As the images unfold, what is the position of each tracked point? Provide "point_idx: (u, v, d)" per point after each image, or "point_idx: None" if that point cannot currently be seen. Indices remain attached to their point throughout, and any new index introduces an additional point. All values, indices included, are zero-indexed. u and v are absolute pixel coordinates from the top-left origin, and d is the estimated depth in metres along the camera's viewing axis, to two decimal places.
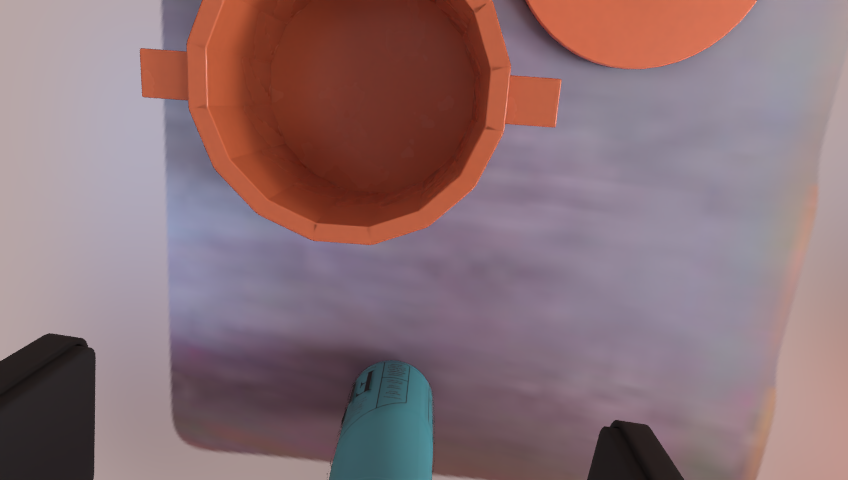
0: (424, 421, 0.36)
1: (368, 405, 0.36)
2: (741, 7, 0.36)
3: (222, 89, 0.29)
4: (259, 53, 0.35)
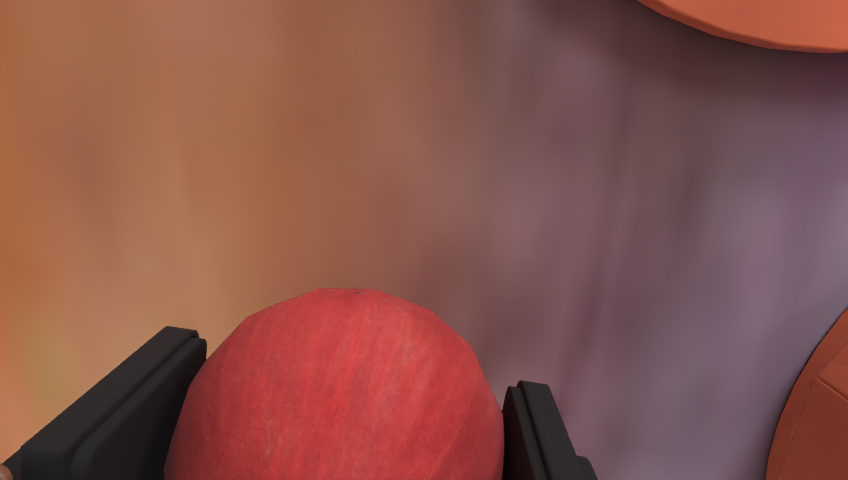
0: None
1: None
2: None
3: None
4: None
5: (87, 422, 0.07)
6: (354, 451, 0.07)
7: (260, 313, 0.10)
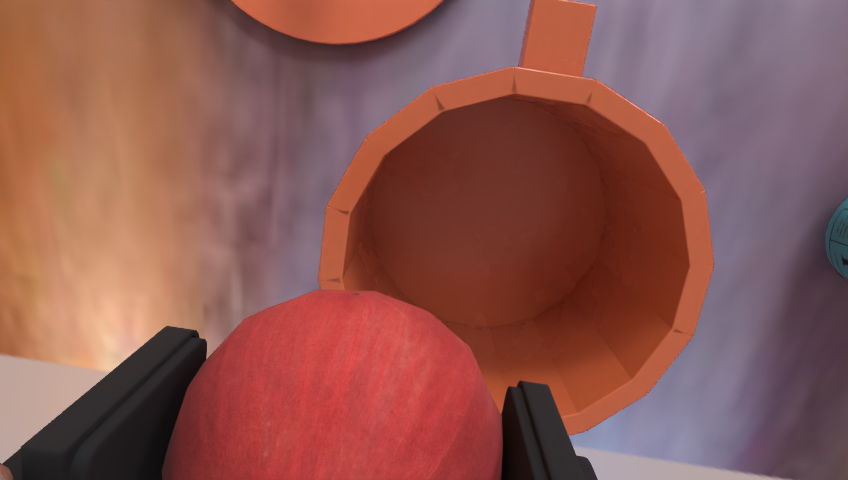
0: None
1: None
2: None
3: None
4: None
5: (87, 422, 0.07)
6: (352, 454, 0.07)
7: (258, 315, 0.10)
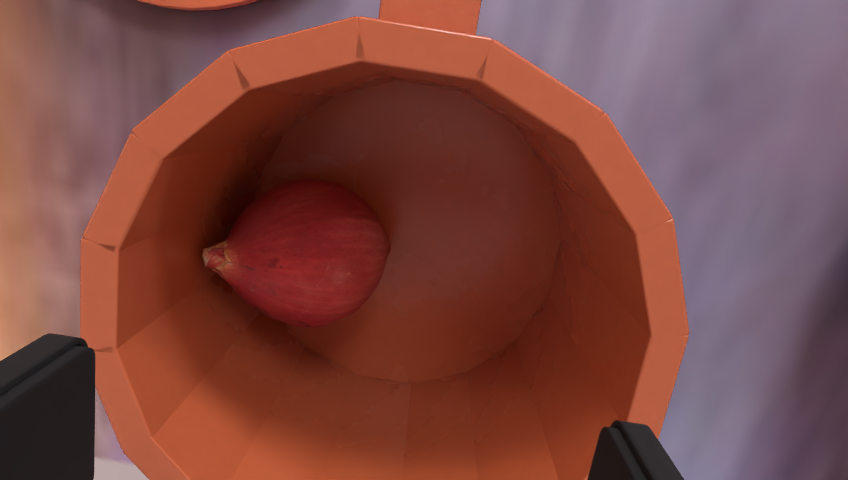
0: None
1: None
2: None
3: None
4: (336, 404, 0.24)
5: None
6: (259, 215, 0.20)
7: None
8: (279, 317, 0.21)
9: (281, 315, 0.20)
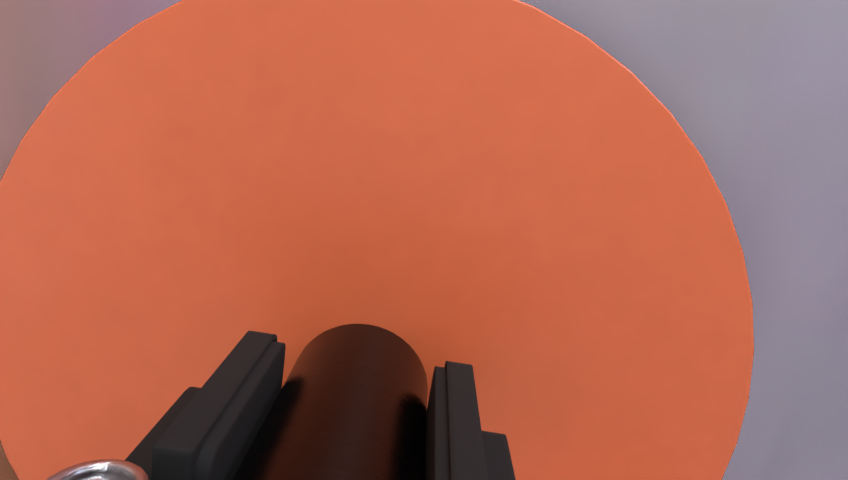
0: None
1: None
2: (626, 110, 0.11)
3: None
4: None
5: (204, 423, 0.08)
6: None
7: None
8: None
9: None
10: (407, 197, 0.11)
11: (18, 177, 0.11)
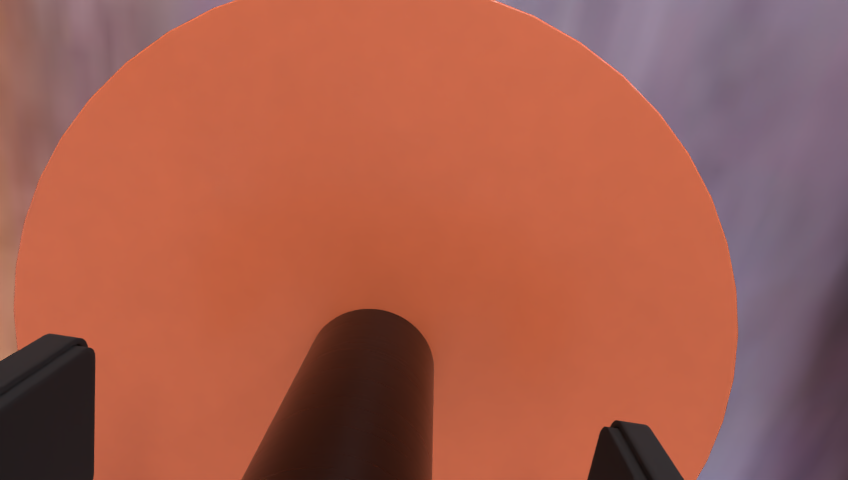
0: None
1: None
2: (618, 110, 0.12)
3: None
4: None
5: None
6: None
7: None
8: None
9: None
10: (415, 191, 0.12)
11: (57, 172, 0.12)
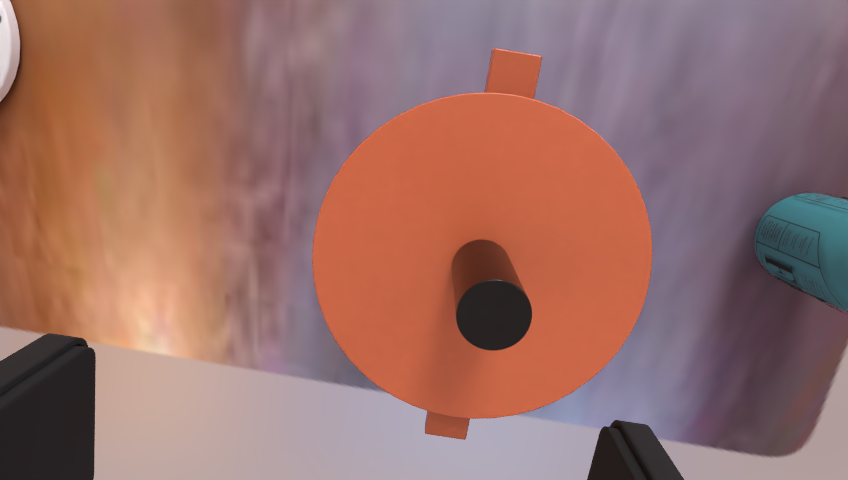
0: None
1: (813, 274, 0.32)
2: (595, 149, 0.26)
3: None
4: None
5: None
6: None
7: None
8: None
9: None
10: (505, 184, 0.27)
11: (342, 176, 0.27)
